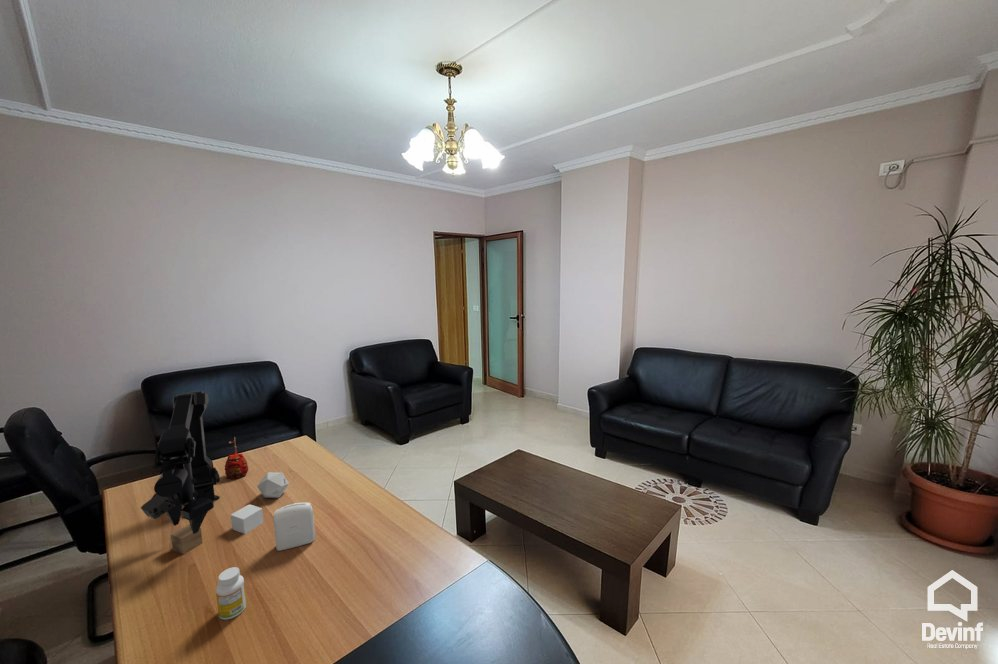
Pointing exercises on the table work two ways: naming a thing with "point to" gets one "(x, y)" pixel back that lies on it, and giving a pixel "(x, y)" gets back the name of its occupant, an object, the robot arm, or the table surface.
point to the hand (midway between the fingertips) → (185, 528)
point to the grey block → (247, 518)
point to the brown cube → (185, 539)
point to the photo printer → (294, 525)
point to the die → (273, 485)
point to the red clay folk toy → (236, 464)
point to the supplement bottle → (230, 593)
